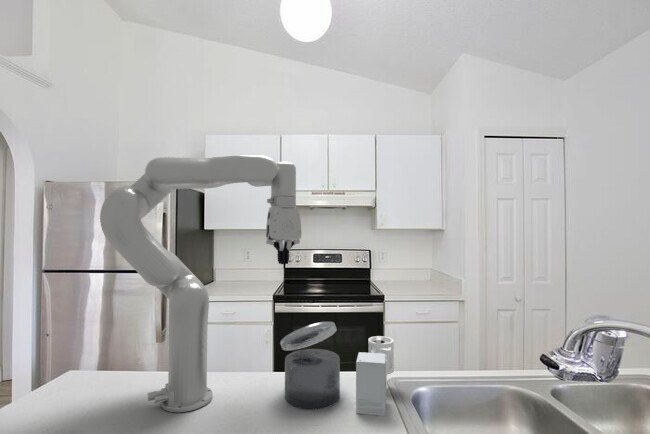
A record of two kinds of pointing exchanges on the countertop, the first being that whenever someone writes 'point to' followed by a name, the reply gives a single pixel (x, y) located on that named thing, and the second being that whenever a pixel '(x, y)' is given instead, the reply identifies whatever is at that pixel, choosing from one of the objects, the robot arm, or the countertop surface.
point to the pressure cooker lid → (308, 335)
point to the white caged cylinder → (383, 351)
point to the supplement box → (371, 384)
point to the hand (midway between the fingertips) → (283, 263)
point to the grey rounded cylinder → (312, 378)
